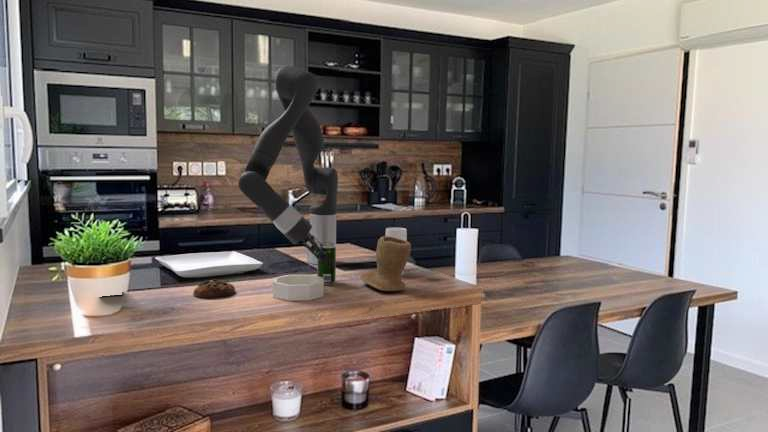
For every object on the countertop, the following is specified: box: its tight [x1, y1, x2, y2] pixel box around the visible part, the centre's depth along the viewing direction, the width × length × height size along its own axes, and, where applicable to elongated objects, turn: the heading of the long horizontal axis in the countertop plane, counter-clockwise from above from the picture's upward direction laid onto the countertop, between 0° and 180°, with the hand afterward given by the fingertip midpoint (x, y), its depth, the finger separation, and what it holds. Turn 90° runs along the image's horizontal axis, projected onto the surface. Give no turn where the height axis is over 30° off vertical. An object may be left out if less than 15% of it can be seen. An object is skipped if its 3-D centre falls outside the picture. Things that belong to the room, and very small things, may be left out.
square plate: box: [155, 250, 264, 279], centre depth 187 cm, size 27×27×4 cm
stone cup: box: [358, 235, 412, 292], centre depth 166 cm, size 15×12×15 cm
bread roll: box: [192, 278, 236, 299], centre depth 155 cm, size 11×11×5 cm
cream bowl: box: [272, 274, 325, 302], centre depth 157 cm, size 13×13×4 cm
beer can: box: [316, 242, 337, 286], centre depth 170 cm, size 5×5×12 cm
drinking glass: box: [385, 227, 408, 276], centre depth 183 cm, size 7×7×15 cm
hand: (331, 262), depth 170 cm, fingers open, 8 cm apart
